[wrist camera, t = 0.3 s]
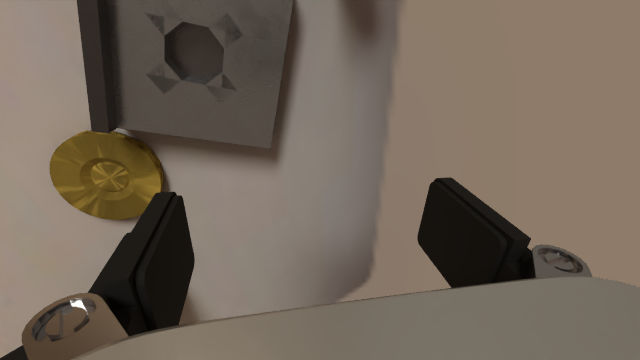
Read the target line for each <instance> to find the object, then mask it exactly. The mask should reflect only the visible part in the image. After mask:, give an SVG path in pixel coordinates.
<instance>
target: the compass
mask: <svg viewBox="0 0 640 360" xmlns="http://www.w3.org/2000/svg"><path fill="white" fill-rule="evenodd" d="M50 175H51V179H52V182H53V184H54V186H55V188H56V189H57V191H58V192H59V194H60V195H61V196H62V197H63V198H64V199H65V200H66V201H67V202H68V203H69V204H71V205H72V206H74V207H75V208H77V209H78V210H80V211H82V212H84V213H86V214H89V215H92V216H95V217H98V218H103V219H111V220H122V219H129V218H133V217H136V216H139V215H141V214H143V212H144V211H145V209H146V208H147V206H148V204H149V203H150V201H151V199H152V198H153V196H154V195H155V193H159V192H161V191H162V189H163V184H164V176H163V171H162V168H161V162H160V160H159V159H158V157H157V156H156V154H155V153H154V152H153V151H152V150H151V149H150V148H149V147H148V146H147V145H146V144H145V143H143V142H142V141H140V142H139V141H137V140H135V139H134V138H132V137H129V136H127V135H125V134H122V133H118V132H114V131H112V132H111V133H109V134H107V133H99V132H92V130H91V131H84V132H81V133H79V134H77V135H75V136H73V137H71V138H70V139H68V140H66V141H65V142H63V143H62V144H61V145H60V146H59V147H58V148H57V149H56V150H55V152H54V153H53V155H52V158H51V161H50Z"/></svg>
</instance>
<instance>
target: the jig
mask: <svg viewBox="0 0 640 360" xmlns="http://www.w3.org/2000/svg"><path fill="white" fill-rule="evenodd" d="M77 6H78V15H79V24H80V32H81V41H82V50H83V59H84V68H85V76H86V85H87V94H88V103H89V112H90V120H91V129H92V132H99V133H107V134H109V133H111V132H112V131H113V130H115V129H116V128H121V129H129V130H136V131H143V132H151V133H158V134H165V135H173V136H180V137H187V138H195V139H202V140H209V141H217V142H224V143H231V144H239V145H246V146H253V147H261V148H268V149H270V148H271V142H272V135H273V129H274V123H275V116H276V110H277V103H278V97H279V90H280V84H281V77H282V71H283V64H284V58H285V51H286V45H287V39H288V32H289V26H290V19H291V13H292V6H293V0H77Z"/></svg>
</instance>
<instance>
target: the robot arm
mask: <svg viewBox="0 0 640 360" xmlns="http://www.w3.org/2000/svg"><path fill="white" fill-rule="evenodd" d="M530 240H531V238H529V237H528V236H527V235H526V234H524V233H523V232H522V231H520V230H519V229H518V228H517V227H515V226H514V225H513V224H511V223H510V222H509V221H507V220H506V219H505V218H503V217H502V216H501V215H499V214H498V213H497V212H496V211H494V210H493V209H492V208H490V207H489V206H488V205H487V204H485V203H484V202H482V201H481V200H480V199H479V198H477V197H476V196H475V195H473V194H472V193H471V192H470V191H468V190H467V189H466V188H464V187H463V186H462V185H460V184H459V183H458V182H456V181H455V180H454V179H452V178H436V179H435V180H434V182H432V183H431V184H430V186H429V191H428V195H427V199H426V203H425V207H424V212H423V216H422V220H421V224H420V228H419V232H418V243H419V245H420V246H421V247H422V249H423V250H424V252H425V253H426V254H427V255H428V257H429V258H430V260H431V261H432V262H433V264H434V265H435V266H436V267H437V269H438V270H439V272H440V273H441V274H442V276H443V277H444V278H445V280H446V281H447V282H448V284H449V285H450V286H451V288H449V289H440V290H432V291H425V292H417V293H409V294H401V295H394V296H386V297H378V298H370V299H362V300H355V301H347V302H340V303H332V304H325V305H317V306H310V307H302V308H295V309H288V310H280V311H273V312H266V313H258V314H251V315H244V316H236V317H229V318H222V319H214V320H208V321H202V322H196V323H190V324H184V325H179V321H180V317H181V314H182V310H183V306H184V302H185V299H186V295H187V291H188V287H189V283H190V280H191V276H192V272H193V268H194V253H193V248H192V243H191V237H190V232H189V227H188V222H187V217H186V212H185V207H184V202H183V198H182V196H177V195H176V193H175V192H159V193H155V195H154V196H153V198H152V199H151V201H150V203H149V204H148V206H147V208H146V209H145V211H144V212H143V214H142V216H141V217H140V219H139V220H138V222H137V224H136V225H135V227H134V229H133V230H132V232H131V233H127V234H126V235H125V236H124V237H123V239H122V240H121V242H120V243H119V245H118V246H117V248H116V250H115V251H114V253H113V254H112V256H111V257H110V259H109V260H108V262H107V264H106V265H105V267H104V268H103V270H102V271H101V273H100V275H99V276H98V278H97V279H96V281H95V282H94V284H93V285H92V287H91V289H90V290H89V292H88V293H79V294H75V295H71V296H67V297H65V298H63V299H60V300H58V301H55V302H54V303H52V304H50V305H49V306H47V307H45V308H44V309H42V310H41V311H40V312H39V313H37V314H36V315H35V316H34V317H33V318H32V319H31V320H30V321H29V322H28V324H27V325H26V326H25V328H24V330H23V333H22V344H23V345H22V346H21V347H19V348H17V349H15V350H14V351H12V352H10V353H9V354H7V355H5V356H4V357H2V358H0V360H640V287H637V286H634V285H630V284H626V283H623V282H618V281H614V280H608V279H603V278H596V277H592V274H591V272H590V270H589V268H588V266H587V264H586V263H585V262H583V260H581V259H580V258H579V257H577V256H576V255H574V254H573V253H570V252H568V251H566V250H564V249H561V248H558V247H555V246H551V245H537V246H535V247H534V248H533V249H532V251H531V250H530V249H528V248H527V246H528V244H529V242H530Z"/></svg>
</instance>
